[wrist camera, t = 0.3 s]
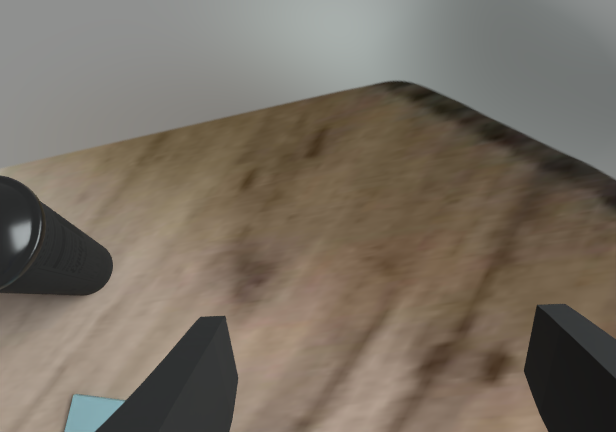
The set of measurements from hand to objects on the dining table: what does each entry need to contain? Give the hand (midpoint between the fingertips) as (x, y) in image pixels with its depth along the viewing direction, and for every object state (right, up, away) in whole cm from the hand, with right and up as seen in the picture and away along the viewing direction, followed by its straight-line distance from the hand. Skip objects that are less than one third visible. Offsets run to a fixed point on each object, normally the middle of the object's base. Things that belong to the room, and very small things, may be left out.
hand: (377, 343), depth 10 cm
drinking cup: (-22, -2, +30) cm, 37 cm away
